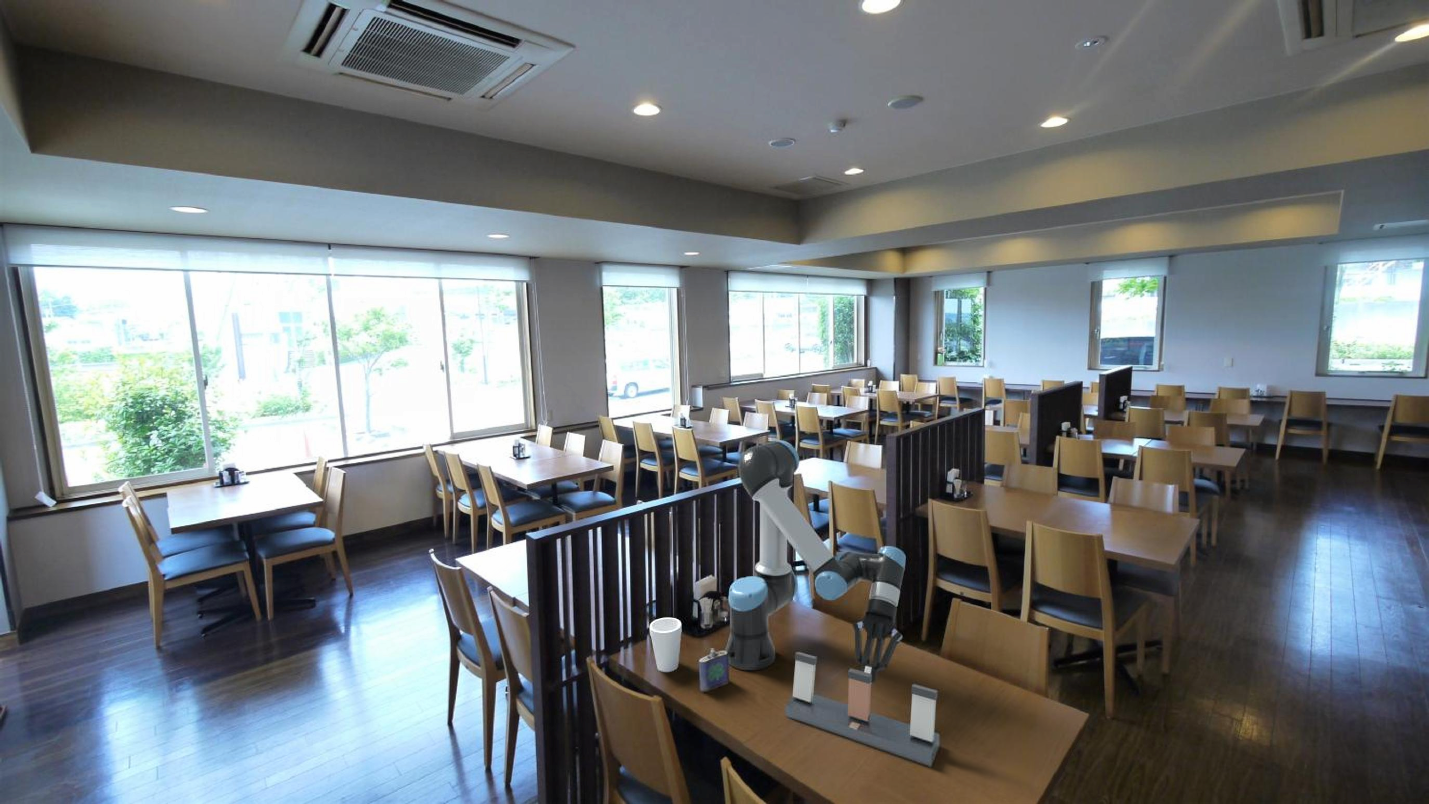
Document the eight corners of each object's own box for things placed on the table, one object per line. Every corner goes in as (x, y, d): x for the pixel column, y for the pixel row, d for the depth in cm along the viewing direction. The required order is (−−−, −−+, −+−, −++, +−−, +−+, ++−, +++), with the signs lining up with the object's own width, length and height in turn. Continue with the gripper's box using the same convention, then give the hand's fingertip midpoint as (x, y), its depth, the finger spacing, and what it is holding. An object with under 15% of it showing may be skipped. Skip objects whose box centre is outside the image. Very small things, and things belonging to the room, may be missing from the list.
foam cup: (678, 676, 171) (676, 633, 170) (648, 673, 173) (645, 631, 172) (686, 658, 181) (684, 618, 179) (657, 656, 182) (655, 616, 181)
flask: (702, 693, 162) (701, 656, 161) (697, 688, 165) (696, 652, 164) (731, 682, 167) (729, 646, 166) (725, 677, 170) (724, 642, 169)
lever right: (910, 732, 138) (913, 684, 140) (934, 740, 135) (937, 690, 137) (908, 735, 137) (911, 686, 138) (932, 743, 134) (935, 692, 135)
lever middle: (849, 712, 147) (850, 668, 147) (870, 719, 144) (872, 674, 144) (846, 715, 145) (847, 671, 145) (868, 722, 142) (869, 677, 142)
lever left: (794, 695, 155) (798, 651, 156) (813, 701, 152) (817, 657, 153) (791, 697, 153) (795, 653, 154) (810, 703, 150) (814, 658, 151)
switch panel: (799, 699, 158) (798, 688, 157) (939, 745, 138) (939, 733, 138) (785, 716, 151) (785, 704, 151) (931, 767, 131) (931, 753, 131)
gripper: (910, 613, 157) (894, 706, 145) (862, 603, 164) (842, 691, 152) (904, 602, 152) (887, 698, 140) (855, 593, 159) (834, 683, 147)
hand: (864, 694), depth 146 cm, fingers closed
